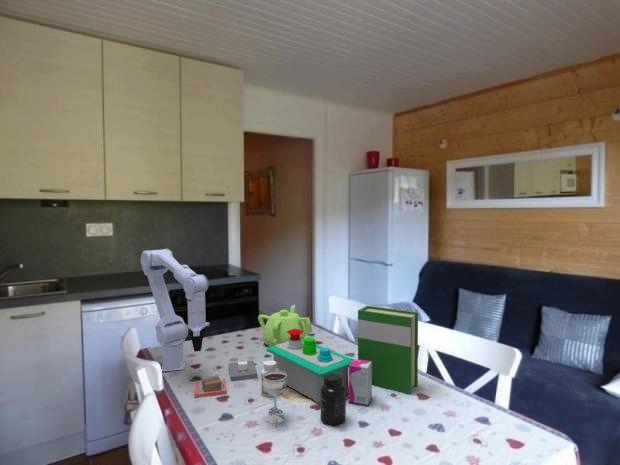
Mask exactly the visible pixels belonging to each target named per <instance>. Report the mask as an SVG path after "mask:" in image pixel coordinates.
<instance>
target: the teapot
mask: <svg viewBox="0 0 620 465" xmlns="http://www.w3.org/2000/svg"><path fill="white" fill-rule="evenodd" d="M295 310H296V305H295V304H292V305H291V306H290V310H288V309H280V310H279V312H278V311H277V312H275V313H272V314H271V315H268V314H259V315H258V317H257V320H258V323H259V325H260V326H261V328H262V330H263V335H262V339H263V342H264V343H265V344H266V346H267V347H270V346H274V345H277V344H281V343H284V342H288V341H289V338H290V334H288V333H287V331H289V330H292V329H299V330H302V331H304V332H303V333H302V334H300V338H301V339H304V338H306V337H307V336H308V335H309V334H311V333H312V332H313V328H312V324H311V321H310V317H307V316H306V317H304V316H303V317H300V316H299V314H298V313H296V311H295ZM264 319H265V320H267V321H266V324H265V321H264Z"/></svg>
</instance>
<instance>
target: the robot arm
mask: <svg viewBox="0 0 620 465" xmlns="http://www.w3.org/2000/svg"><path fill="white" fill-rule="evenodd" d="M140 264H141V265H140V266H141V268H142V271H143V274H144V275H145V276H147V280H148V283H149V286H150V289H151V293H152V296H153V298H154V303H155V305H156V310H157V311H158V315H159V318H160V320H159V321H158V322H157V323H156V326H155V332H156V334H155V335H156V340H157V342H158V343H159V344H160V345H161V346H162V347H161V348H162V364H161V368H162V371H163V372H164V373H165V372H172V371H181V370H185V367H186V358H185V357H184V356H185V355H184V342H186V339H187V337H188V336H189V338H190V340H191V343H192V347H193V351H194V352H201V351H202V348H203V347H202V346H203V339H204V336H205V334H206V332H207V330H206V327H209V326H210V321H209V322H208V321H207V322H206V317H207V316H206V292H207V290H208V289H209V280H208V278H207V276H206V275H204V274H197V273H196V271H194V270H192V269H191V268H190V267H189V266H188V265H187V264H180V262H178V261H177V259H175V257H174V255H173V252H172V251H171V250H170V249H169V248H164V249H153V250H143V251H142V253H141V256H140ZM168 270H169V271H171V273H173V278H175V280H176V281H177V282H178V283H180V284H181V285H182V286H183V291H184V293H185V299H187V324H186V323H185V321H184V319H183V317H182V316H180V315H177V314H176V312H175V310H174V306H173V304H172V301H171V298H170V294H169V292H168V291H169V290H168V289H167V285H166V282H165V278H164V274H165V273H167V272H168ZM163 372H162V373H163Z"/></svg>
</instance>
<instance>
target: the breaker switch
mask: <svg viewBox="0 0 620 465" xmlns="http://www.w3.org/2000/svg"><path fill="white" fill-rule="evenodd" d="M247 361H248V360H244V361H237V362H238V369H239V371H243V370H248V364H247Z"/></svg>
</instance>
